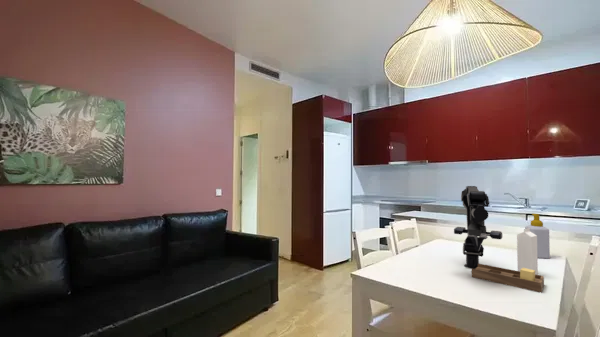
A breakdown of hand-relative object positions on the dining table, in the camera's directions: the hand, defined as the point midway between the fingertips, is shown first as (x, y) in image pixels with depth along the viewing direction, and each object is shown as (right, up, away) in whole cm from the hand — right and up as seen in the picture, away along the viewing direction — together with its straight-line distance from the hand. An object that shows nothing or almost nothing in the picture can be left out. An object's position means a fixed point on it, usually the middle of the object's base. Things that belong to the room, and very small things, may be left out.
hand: (477, 251), depth 132 cm
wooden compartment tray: (+11, -12, -4) cm, 17 cm away
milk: (+28, -13, +6) cm, 31 cm away
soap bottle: (+58, -14, +36) cm, 70 cm away
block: (+14, -10, -11) cm, 21 cm away
